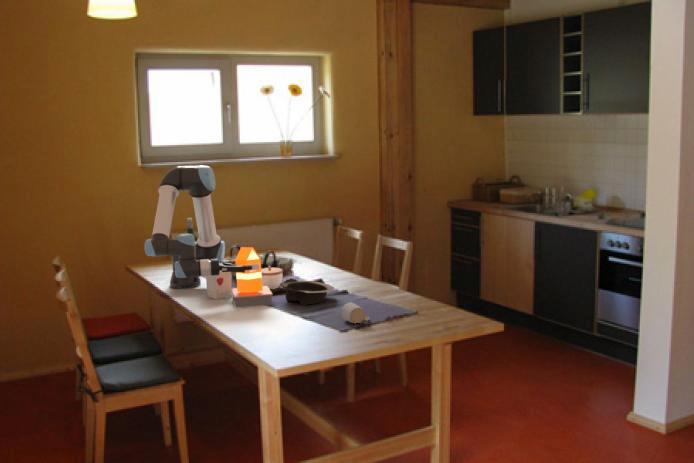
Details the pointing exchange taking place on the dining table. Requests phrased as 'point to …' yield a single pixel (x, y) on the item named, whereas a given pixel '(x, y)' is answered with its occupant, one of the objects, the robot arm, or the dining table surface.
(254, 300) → the podium
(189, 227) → the wine bottle
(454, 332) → the dining table surface
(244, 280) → the orange juice
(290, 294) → the stone bowl
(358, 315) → the ceramic mug
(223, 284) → the supplement box
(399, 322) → the dining table surface
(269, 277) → the lidded bowl
